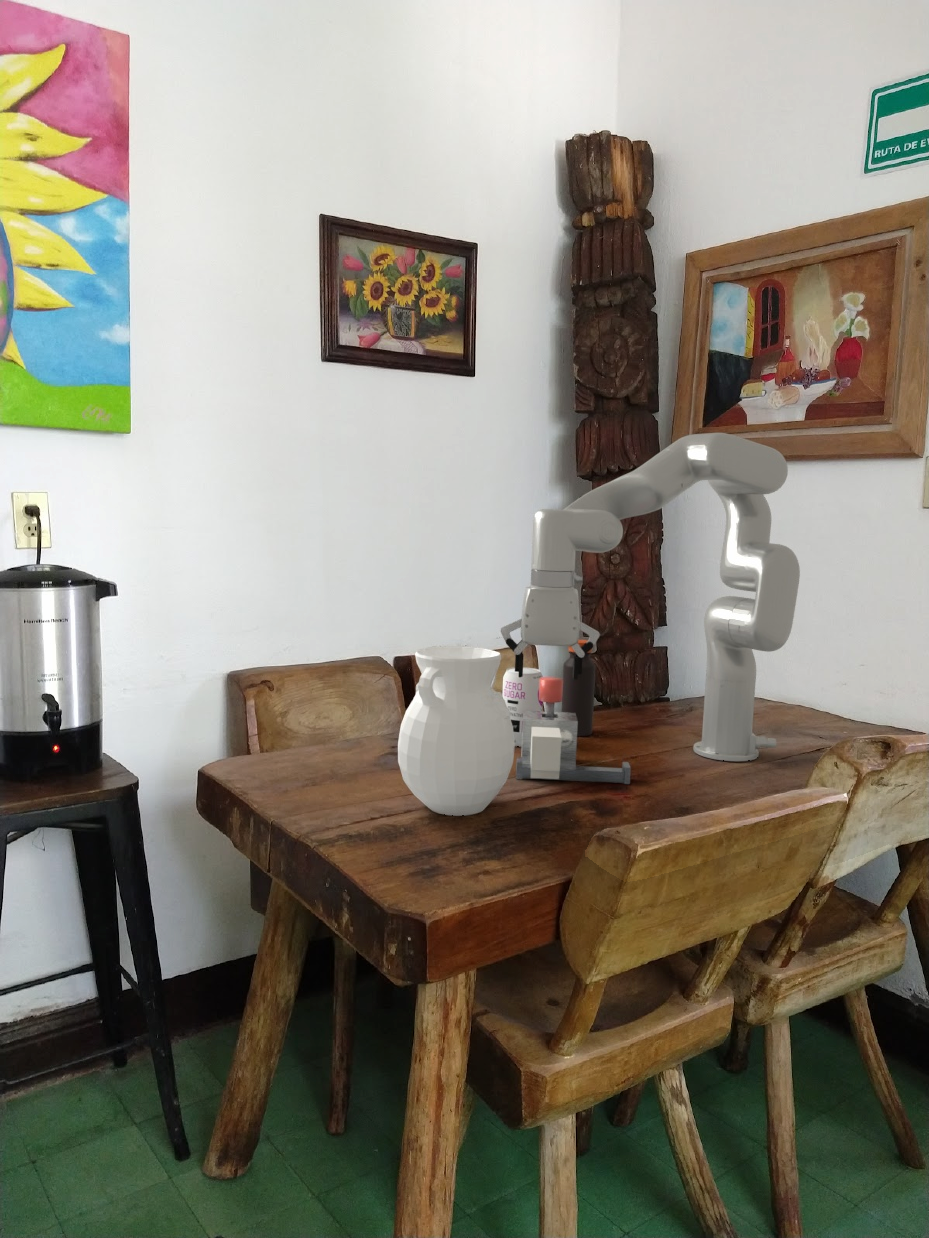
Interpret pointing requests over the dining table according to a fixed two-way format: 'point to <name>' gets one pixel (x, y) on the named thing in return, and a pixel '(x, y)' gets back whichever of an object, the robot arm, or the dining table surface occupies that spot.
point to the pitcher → (456, 731)
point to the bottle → (579, 691)
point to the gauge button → (550, 693)
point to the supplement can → (521, 697)
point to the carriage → (545, 752)
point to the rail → (581, 773)
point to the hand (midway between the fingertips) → (547, 677)
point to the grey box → (560, 720)
